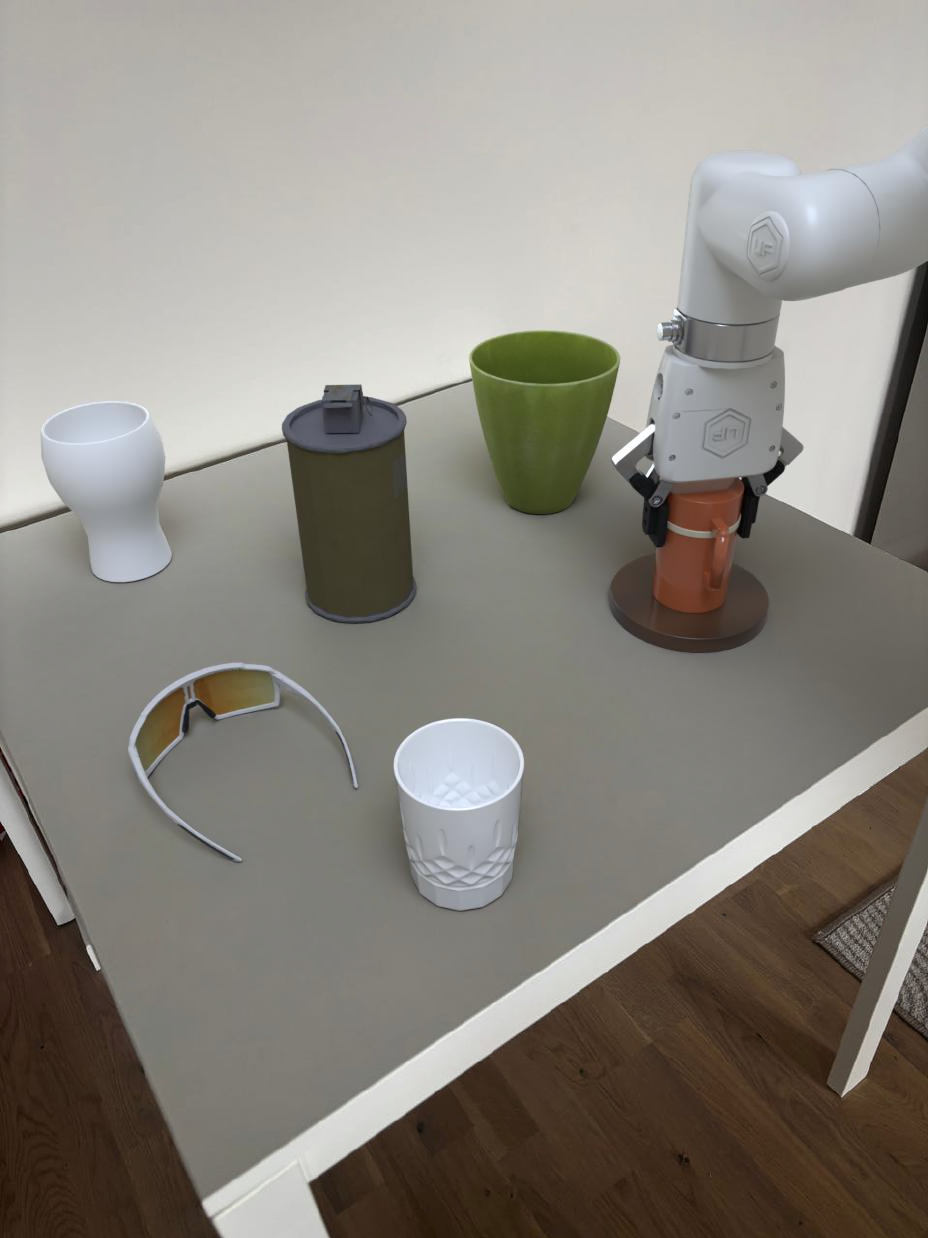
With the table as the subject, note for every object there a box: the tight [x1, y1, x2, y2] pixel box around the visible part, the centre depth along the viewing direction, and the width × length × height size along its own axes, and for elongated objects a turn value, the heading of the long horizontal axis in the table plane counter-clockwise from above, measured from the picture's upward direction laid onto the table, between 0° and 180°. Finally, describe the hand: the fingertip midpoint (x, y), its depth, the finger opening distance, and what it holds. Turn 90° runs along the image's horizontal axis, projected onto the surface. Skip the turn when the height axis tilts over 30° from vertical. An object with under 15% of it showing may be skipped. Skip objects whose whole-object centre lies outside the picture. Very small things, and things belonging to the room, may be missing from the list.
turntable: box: [609, 553, 770, 654], centre depth 88 cm, size 14×14×2 cm
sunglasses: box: [127, 662, 359, 863], centre depth 71 cm, size 14×15×5 cm
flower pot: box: [468, 329, 621, 515], centre depth 101 cm, size 15×15×16 cm
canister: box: [281, 384, 417, 624], centre depth 86 cm, size 11×10×20 cm
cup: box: [40, 400, 173, 583], centre depth 92 cm, size 11×11×15 cm
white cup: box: [393, 717, 525, 912], centre depth 61 cm, size 8×8×10 cm
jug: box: [652, 477, 744, 613], centre depth 84 cm, size 10×7×11 cm, turn 9°
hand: (697, 533), depth 84 cm, fingers closed on jug, 6 cm apart
